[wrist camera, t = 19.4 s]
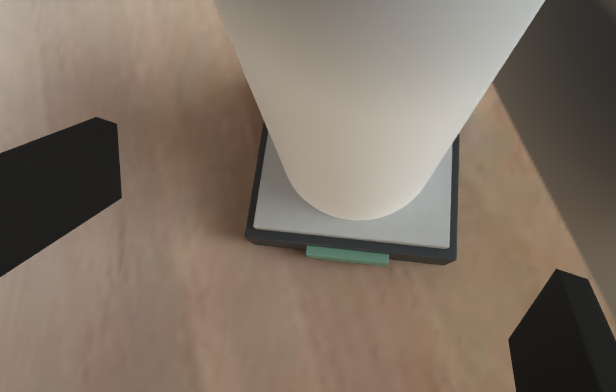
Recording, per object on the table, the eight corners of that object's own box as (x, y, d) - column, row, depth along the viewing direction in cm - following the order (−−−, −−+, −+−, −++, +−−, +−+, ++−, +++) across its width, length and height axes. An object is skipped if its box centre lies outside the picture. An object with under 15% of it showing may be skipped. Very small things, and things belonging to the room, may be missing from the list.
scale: (450, 91, 25) (464, 63, 22) (444, 274, 22) (459, 269, 19) (279, 80, 27) (272, 52, 24) (252, 252, 24) (240, 244, 21)
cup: (445, 215, 20) (765, -84, 5) (284, 226, 21) (117, -12, 5) (424, 73, 22) (597, -434, 7) (279, 86, 23) (153, -360, 8)
